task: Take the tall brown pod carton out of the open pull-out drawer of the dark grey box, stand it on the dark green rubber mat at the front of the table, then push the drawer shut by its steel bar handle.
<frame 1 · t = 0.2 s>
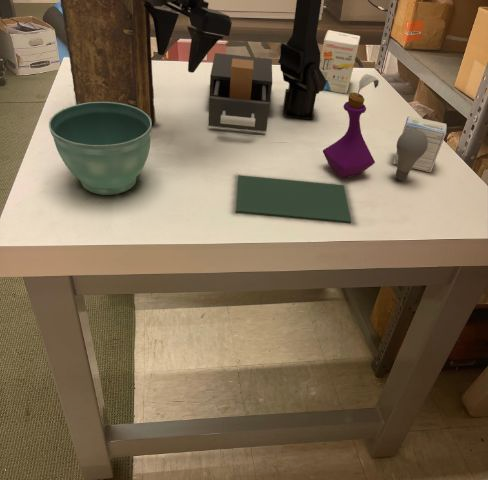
hand: (175, 63, 89), 15 cm above the table, tool pointing down, fingers open, 9 cm apart
medicine box: (412, 165, 103), on the table
front mat: (292, 199, 89), on the table
book: (115, 120, 105), on the table
flower pot: (108, 182, 88), on the table
perfume bottle: (344, 172, 98), on the table
drawer: (239, 106, 106), point 4 cm above the table, slide at 9.0 cm, touching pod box
dark grey box: (239, 100, 118), on the table
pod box: (238, 109, 109), point 2 cm above the table, touching drawer
ink box: (332, 86, 130), on the table
light bulb: (399, 180, 98), on the table
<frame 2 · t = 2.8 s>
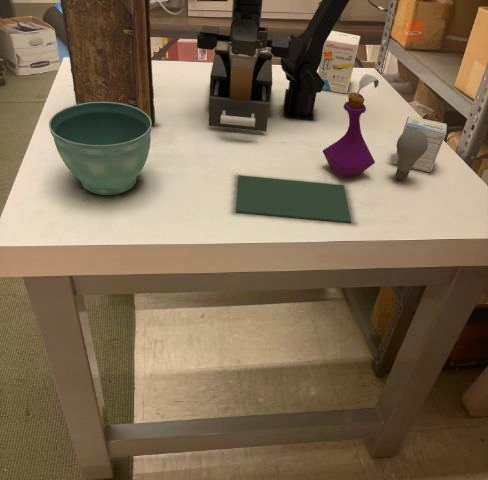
hand: (240, 85, 106), 7 cm above the table, tool pointing down, fingers closed on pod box, 4 cm apart
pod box: (238, 109, 109), point 2 cm above the table, touching drawer, gripper
everything else where it was.
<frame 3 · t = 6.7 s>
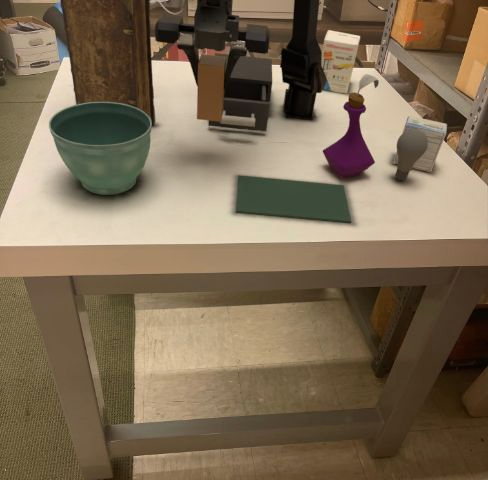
hand: (211, 87, 88), 13 cm above the table, tool pointing down, fingers closed on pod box, 4 cm apart
drawer: (239, 106, 106), point 4 cm above the table, slide at 9.0 cm
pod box: (210, 114, 92), point 8 cm above the table, touching gripper
everything else where it was.
when the fingers open (5 cm above the table, at t = 11.0 s): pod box stays where it is, resting on front mat.
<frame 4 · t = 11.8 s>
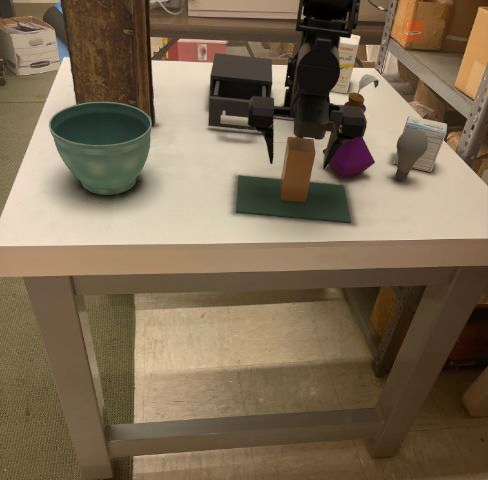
hand: (297, 165, 85), 6 cm above the table, tool pointing down, fingers open, 9 cm apart
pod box: (292, 194, 89), resting on front mat
everything else where it was.
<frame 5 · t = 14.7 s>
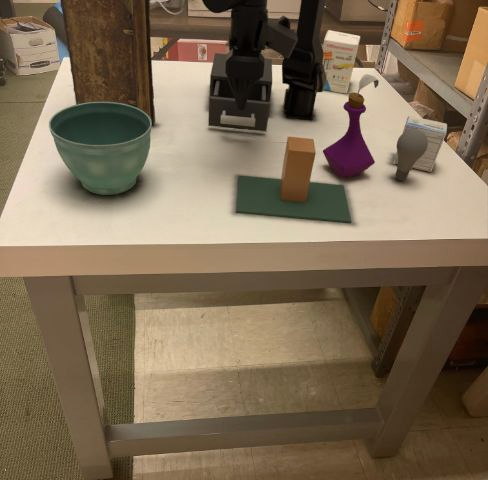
hand: (241, 99, 91), 11 cm above the table, tool pointing down, fingers open, 9 cm apart
nothing on the table moved.
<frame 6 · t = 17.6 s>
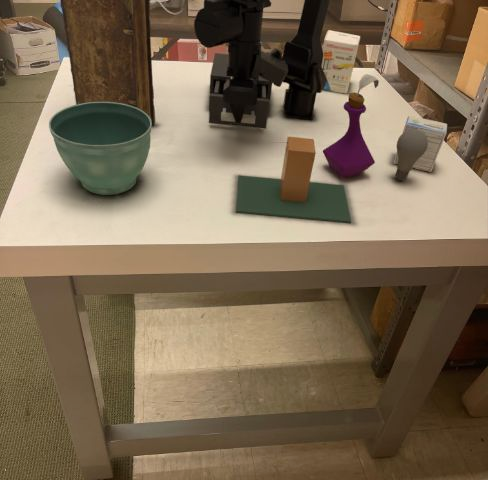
hand: (238, 122, 100), 4 cm above the table, tool pointing down, fingers closed
drawer: (239, 103, 107), point 4 cm above the table, slide at 7.6 cm, touching gripper
everything else where it was.
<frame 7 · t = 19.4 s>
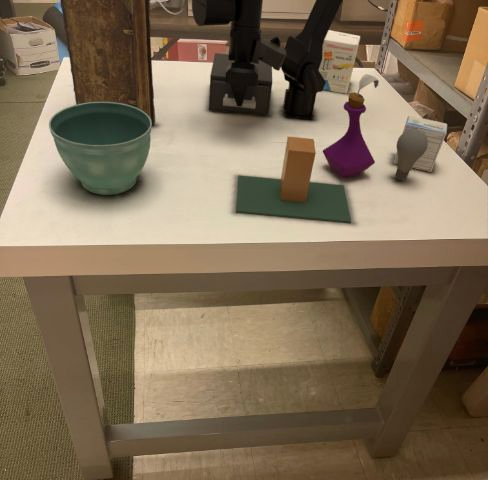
hand: (239, 106, 106), 4 cm above the table, tool pointing down, fingers closed
drawer: (240, 90, 112), point 4 cm above the table, slide at 0.0 cm, touching gripper
everything else where it was.
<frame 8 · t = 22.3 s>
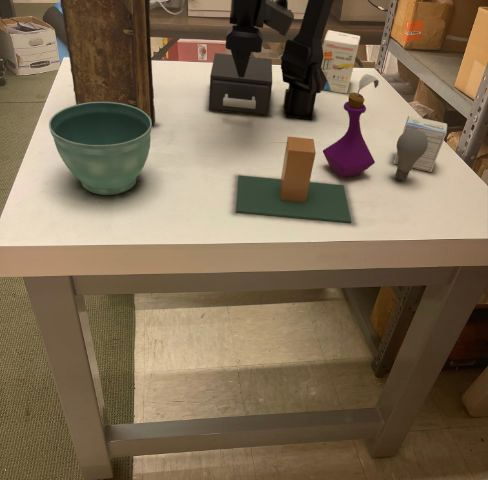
hand: (241, 76, 96), 12 cm above the table, tool pointing down, fingers closed
drawer: (240, 90, 112), point 4 cm above the table, slide at 0.0 cm, touching dark grey box
everything else where it was.
at the end: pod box inside the target area on the front mat (1.0 cm from its centre), point 0.4 cm above the front mat's base; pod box tilted 0°; drawer slide at 0.0 cm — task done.
